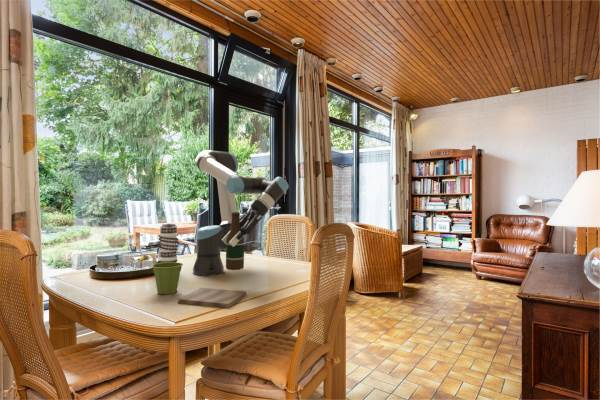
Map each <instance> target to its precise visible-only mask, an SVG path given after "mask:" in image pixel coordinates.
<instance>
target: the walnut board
mask: <svg viewBox="0 0 600 400" xmlns="http://www.w3.org/2000/svg"><path fill="white" fill-rule="evenodd" d="M246 296H247V291H243V290H235V289H233V290H231V289H223V288H221V289H220V288H210V287H199V288H197V289H195V290H193V291H191V292H189V293H187V294H185V295H183V296H181V297H178V299H177V304H181V305H182V304H184V305H190V306H191V305H194V306H201V307H202V306H203V307H204V306H205V307H212V308H213V307H214V308H224V309H225V308H226V309H229V308H231V307H232V306H233V305H235V304H236V303H238V302H239V301H240V300H242V299H243V298H245V297H246Z"/></svg>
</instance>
